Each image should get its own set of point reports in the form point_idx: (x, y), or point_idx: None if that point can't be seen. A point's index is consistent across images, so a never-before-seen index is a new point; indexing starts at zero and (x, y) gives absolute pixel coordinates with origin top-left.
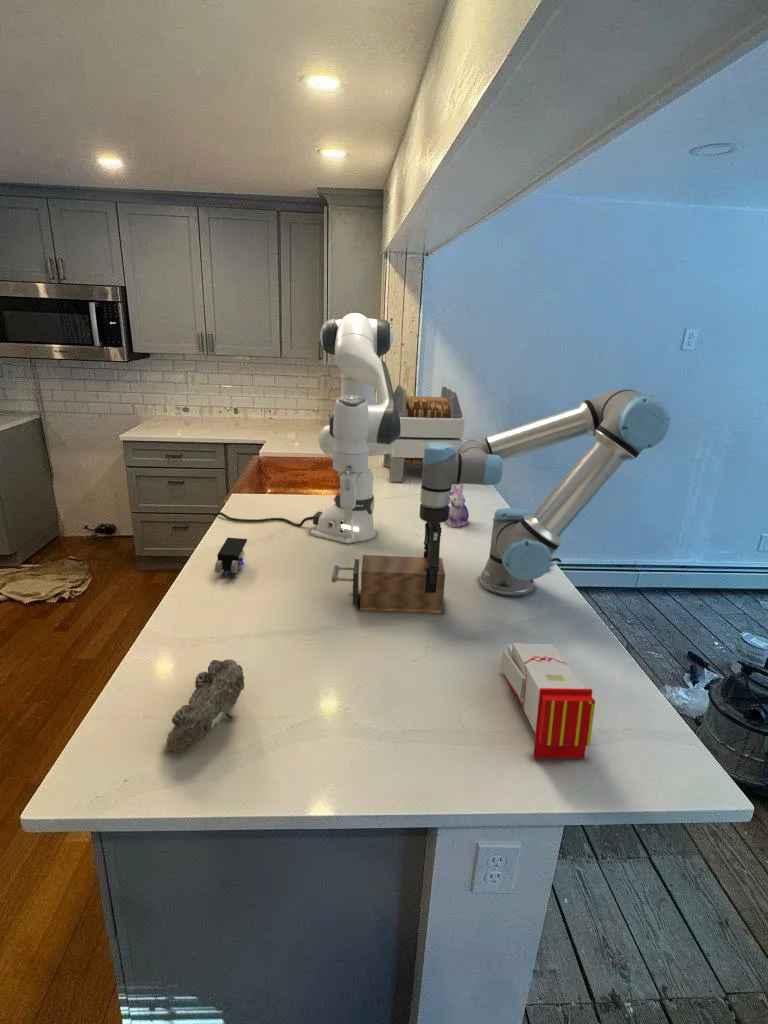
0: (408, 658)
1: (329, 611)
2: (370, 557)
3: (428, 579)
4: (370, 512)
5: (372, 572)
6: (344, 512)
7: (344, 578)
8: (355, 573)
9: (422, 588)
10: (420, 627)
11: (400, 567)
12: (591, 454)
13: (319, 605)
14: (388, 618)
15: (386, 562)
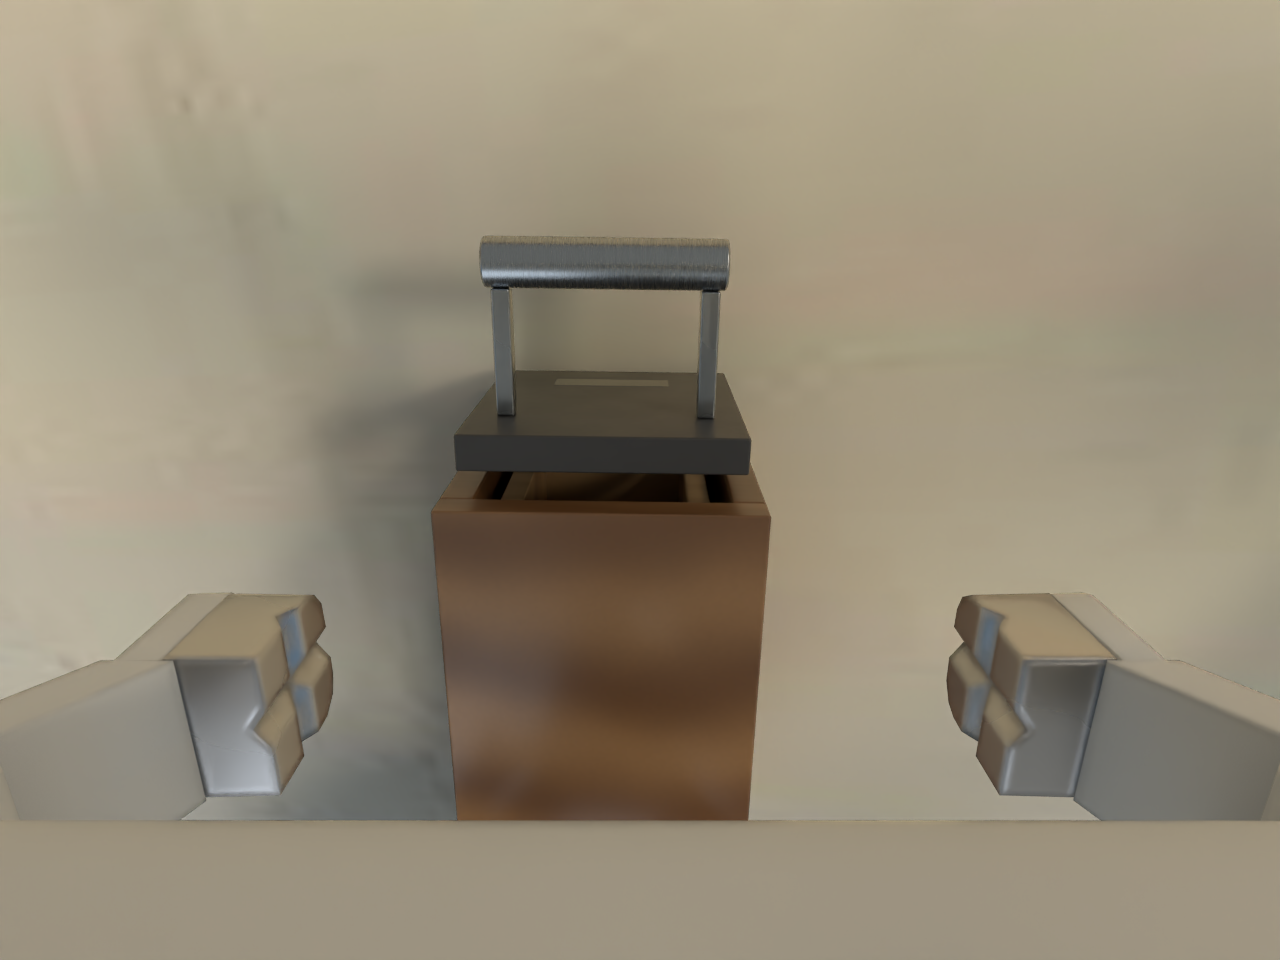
0: (78, 641)
1: (452, 220)
2: (715, 578)
3: None
4: None
5: (438, 592)
6: (21, 694)
7: (503, 347)
8: (460, 453)
9: None
10: (363, 706)
11: (544, 782)
12: None
13: (522, 141)
14: (424, 564)
15: (626, 694)
